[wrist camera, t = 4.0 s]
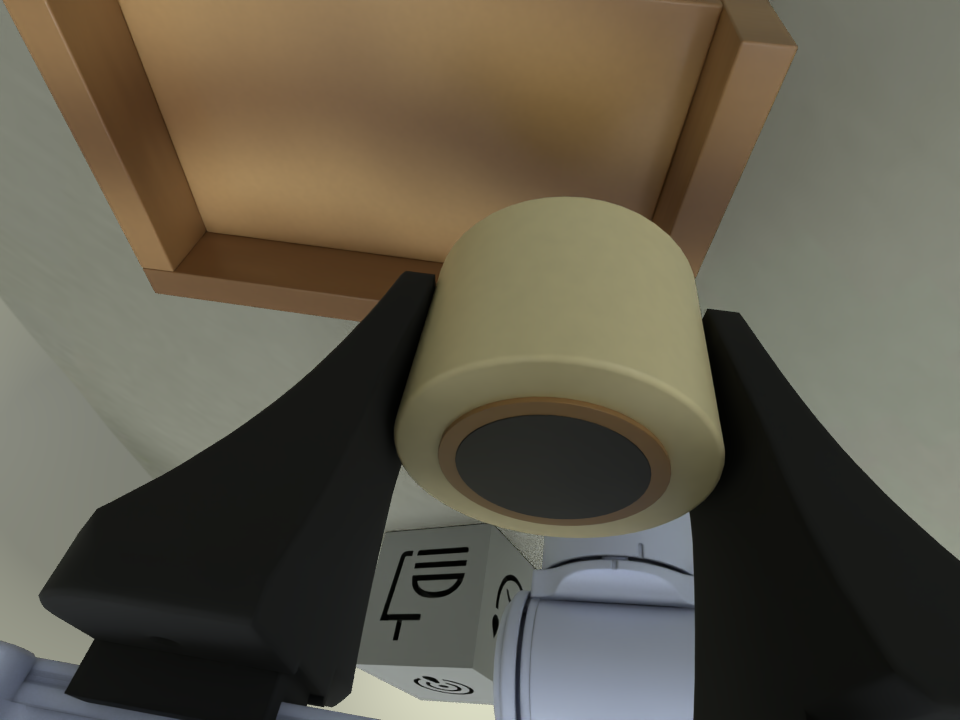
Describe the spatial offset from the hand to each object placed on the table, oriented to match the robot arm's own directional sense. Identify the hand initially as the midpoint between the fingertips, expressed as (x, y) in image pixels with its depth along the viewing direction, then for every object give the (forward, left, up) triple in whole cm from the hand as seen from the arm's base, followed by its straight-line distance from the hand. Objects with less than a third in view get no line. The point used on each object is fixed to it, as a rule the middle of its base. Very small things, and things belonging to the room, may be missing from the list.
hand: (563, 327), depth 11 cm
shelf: (0, +5, -10) cm, 12 cm away
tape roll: (0, 0, -1) cm, 1 cm away
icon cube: (-38, +3, -10) cm, 40 cm away
